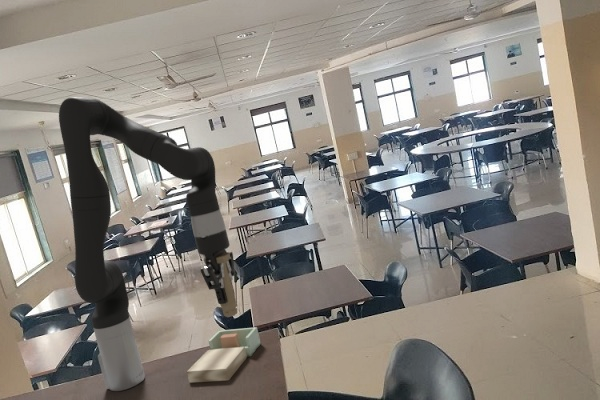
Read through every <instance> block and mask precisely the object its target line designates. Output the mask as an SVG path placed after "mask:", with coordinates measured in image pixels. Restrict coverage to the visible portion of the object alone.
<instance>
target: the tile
mask: <svg viewBox="0 0 600 400" xmlns="http://www.w3.org/2000/svg"><path fill="white" fill-rule="evenodd" d="M220 340H221V344H222V348H234V347H241V346H240V342H239V338H238V333H236V334H227V335H222V336H221V337H220Z"/></svg>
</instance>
